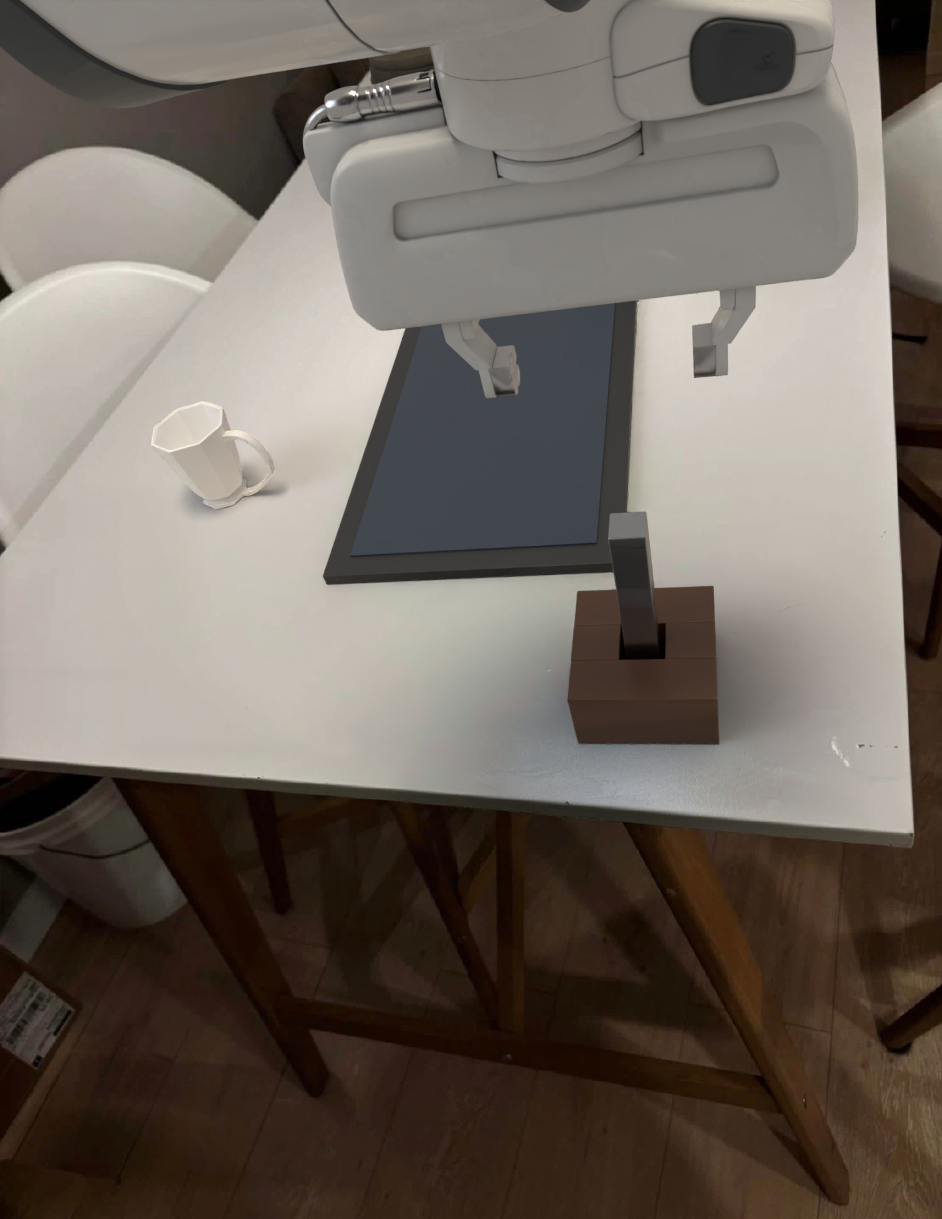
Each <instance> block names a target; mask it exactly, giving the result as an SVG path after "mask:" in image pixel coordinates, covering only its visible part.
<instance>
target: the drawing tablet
mask: <svg viewBox="0 0 942 1219" xmlns="http://www.w3.org/2000/svg"><path fill="white" fill-rule="evenodd" d="M637 311H638V300H636V301H628V302H620V303H611V304H603V305H595V306H586V307H578V308H570V309H561V310H553V311H545V312H537V313H528V314H520V315H512V316H503V317H495V318H487V319H480V320H479V324H478V325H479V326H480V327H481V328H482V329H483V330H484V331H485V333H486V334H487V335H488V336H489V337H490V338H491V339H492V341H493V342H494V343H495V344H496V345H497V347H499V346H511V345H514V347H515V351H516V356H517V359H516V364H518V365H519V370H520V385H519V386H518V394H517V395H516V396H507V397H498V398H497V397H495V398H486V397H485V393H484V390H483V386H482V382H481V378H480V374H479V370H475V369H474V368H473V367H472V366H471V365H470V364H469V363H467V362H466V361H465V360H464V359H463V358H462V357H461V356H460V355H459V354H458V353H457V352H456V351H455V350H454V349H453V348H452V347H450V346H449V345H448V344H447V343H446V340H445V336H444V333H443V329H442V326H441V324H437V325H429V326H420V327H412V328H404V331H403V334H402V337H401V340H400V343H399V347H398V349H397V352H396V355H395V358H394V361H393V364H392V367H391V370H390V373H389V375H388V376H389V377H388V379H387V382H386V385H385V388H384V392H383V394H382V397H381V400H380V403H379V406H378V409H377V412H376V415H375V418H374V421H373V424H372V427H371V430H370V433H369V436H368V439H367V442H366V445H365V448H364V451H363V454H362V457H361V460H360V463H359V466H358V469H357V472H356V475H355V478H354V480H353V484H352V486H351V489H350V493H349V496H348V499H347V501H346V504H345V508H344V511H343V514H342V517H341V520H340V523H339V525H338V529H337V532H336V535H335V538H334V540H333V544H332V547H331V550H330V553H329V556H328V559H327V562H326V565H325V568H324V571H323V574H322V578H323V580H324V582H325V584H326V585H339V584H341V585H342V584H363V583H366V584H367V583H386V582H406V581H407V582H408V581H411V582H413V581H430V580H431V581H432V580H433V581H434V580H452V579H453V580H454V579H475V578H476V579H479V578H499V577H500V578H502V577H522V576H545V575H547V576H548V575H565V574H566V575H567V574H568V575H569V574H571V575H572V574H590V573H595V574H596V573H613V567H612V561H611V554H610V548H609V541H608V533H609V518H610V514H611V513H626V512H628V496H629V477H630V476H629V474H630V455H631V454H630V453H631V434H632V433H631V432H632V417H633V416H632V414H633V393H634V392H633V391H634V372H635V356H636V355H635V354H636V352H635V351H636V333H637V332H636V331H637V315H638V314H637Z"/></svg>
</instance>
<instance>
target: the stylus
mask: <svg viewBox="0 0 942 1219" xmlns="http://www.w3.org/2000/svg"><path fill="white" fill-rule="evenodd" d="M608 541H609V548H610V554H611V561H612V567H613V572H612V573H613V579H614V586H615V589H616V593H617V599H618V606H619V612H620V619H621V625H622V631H623V638H624V644H625V651H626V657H627V660H640V659H662V653H661V644H660V634H659V625H658V616H657V606H656V597H655V588H656V587H655V580H654V578H655V577H654V569H653V561H652V551H651V542H650V541H651V540H650V532H649V523H648V513H647V512H646V510H645V511H644V510H643V511H627V512H626V513H611V514H610V518H609V533H608Z"/></svg>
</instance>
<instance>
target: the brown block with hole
mask: <svg viewBox="0 0 942 1219" xmlns="http://www.w3.org/2000/svg"><path fill="white" fill-rule="evenodd" d="M654 588H655V597H656V606H657V616H658V625H659V634H660V644H661V653H662V659H640V660H627V657H626V651H625V644H624V638H623V631H622V625H621V619H620V612H619V606H618V599H617V593H616V588H615V589H596V590H593V589H592V590H591V589H590V590H577V592H576V600H575V610H574V611H575V612H574V620H573V630H572V631H573V633H572V642H571V654H570V665H569V674H568V675H569V676H568V686H567V695H566V701H567V705H568V709H569V713H570V717H571V721H572V726H573V730H574V732H575V737H576V741H577V744H578V745H580V744H581V745H582V744H583V745H705V746H706V745H709V746H711V745H713V746H715V745H716V746H717V745H720V723H719V721H720V720H719V697H718V696H719V693H718V690H719V689H718V667H717V666H718V665H717V664H718V663H717V662H718V661H717V638H716V637H717V636H716V635H717V634H716V610H715V608H716V606H715V586H714V585H697V586H695V585H694V586H671V587H654Z"/></svg>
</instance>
